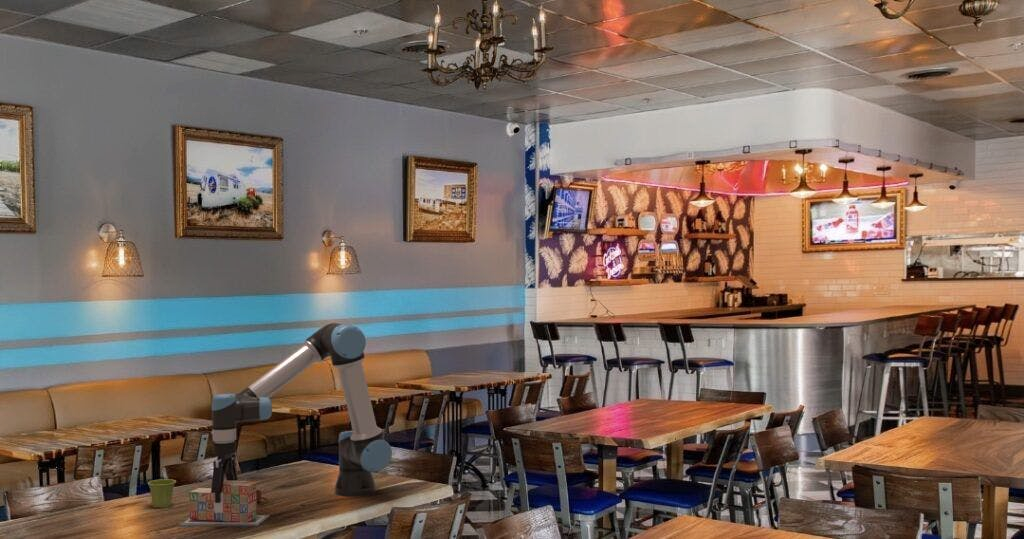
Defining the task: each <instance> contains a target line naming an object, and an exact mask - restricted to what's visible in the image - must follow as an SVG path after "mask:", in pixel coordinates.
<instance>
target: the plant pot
mask: <svg viewBox="0 0 1024 539" xmlns="http://www.w3.org/2000/svg"><path fill="white" fill-rule="evenodd" d="M176 483H177V480H175V479H171V478H170V479H169V478H168V479H167V478H165V479H164V478H161V479H155V480H150V481H148V482H147V485H148V487H149V489H150V496H151V502H152V507H153V508H154V509H155V508H156V509H157V508H161V509H162V508H168V507H170V506H172V502H173V501H172V499H173V495H174V494H173V492H174V487H175V484H176Z"/></svg>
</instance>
